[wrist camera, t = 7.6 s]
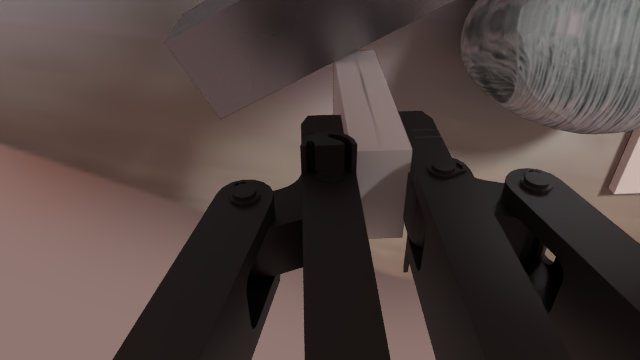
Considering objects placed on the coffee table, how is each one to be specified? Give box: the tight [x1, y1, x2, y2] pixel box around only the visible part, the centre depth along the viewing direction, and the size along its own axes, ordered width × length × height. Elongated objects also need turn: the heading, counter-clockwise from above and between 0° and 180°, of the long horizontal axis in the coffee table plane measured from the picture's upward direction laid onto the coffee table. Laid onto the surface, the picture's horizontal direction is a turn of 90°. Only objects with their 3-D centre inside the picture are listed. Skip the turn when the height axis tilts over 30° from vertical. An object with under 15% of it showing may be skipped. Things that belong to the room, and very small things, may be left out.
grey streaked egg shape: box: [460, 0, 640, 134], centre depth 27 cm, size 14×10×10 cm
